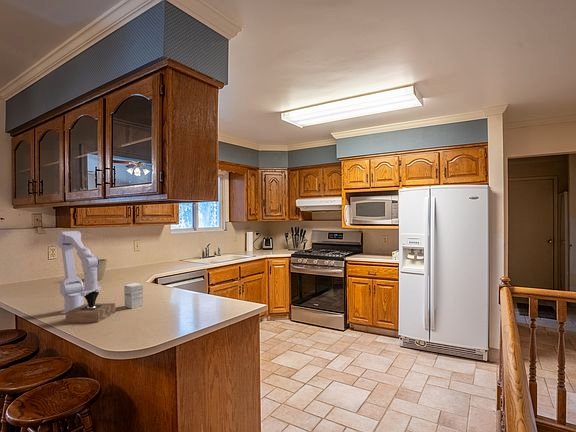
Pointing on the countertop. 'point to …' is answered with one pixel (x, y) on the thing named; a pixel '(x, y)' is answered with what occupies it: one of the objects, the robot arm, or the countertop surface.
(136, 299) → the supplement box
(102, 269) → the plant pot
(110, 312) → the walnut block
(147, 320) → the countertop surface
